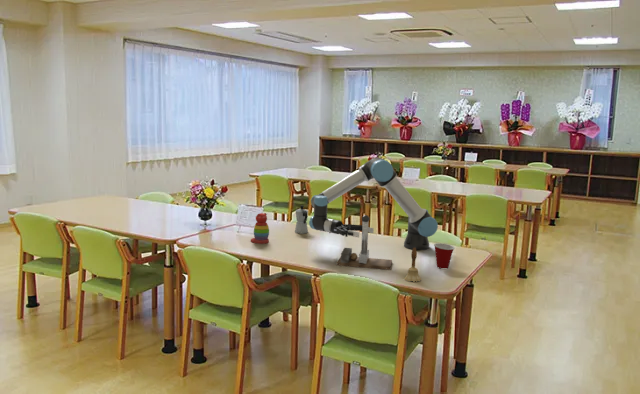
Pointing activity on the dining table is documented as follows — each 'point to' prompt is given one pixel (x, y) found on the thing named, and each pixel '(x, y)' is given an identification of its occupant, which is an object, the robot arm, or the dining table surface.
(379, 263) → the press base
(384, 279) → the dining table surface
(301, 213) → the coffee maker
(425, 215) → the robot arm
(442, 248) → the plastic cup
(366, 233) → the grey upright post
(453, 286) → the dining table surface
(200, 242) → the dining table surface
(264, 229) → the stacking bear
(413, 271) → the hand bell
